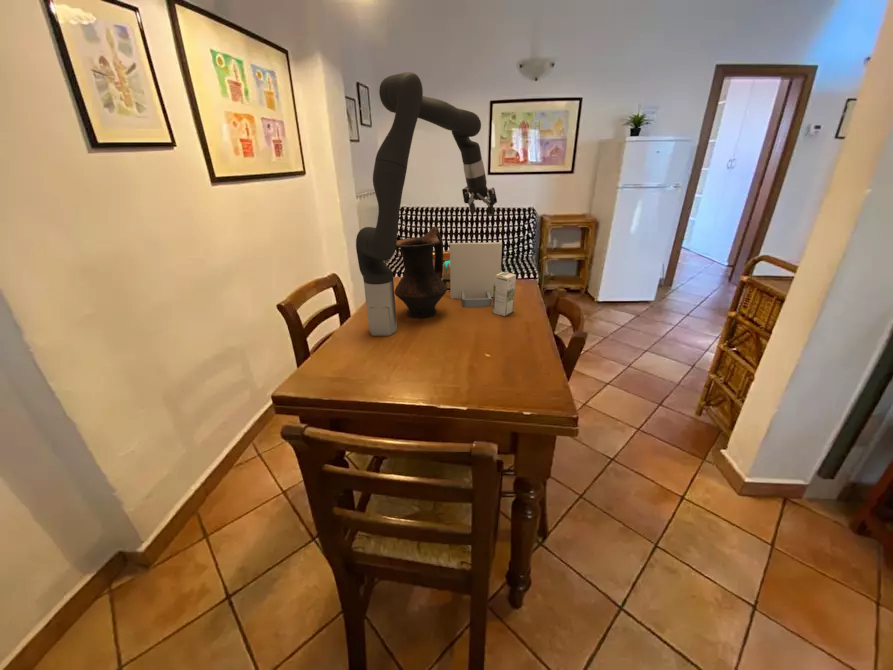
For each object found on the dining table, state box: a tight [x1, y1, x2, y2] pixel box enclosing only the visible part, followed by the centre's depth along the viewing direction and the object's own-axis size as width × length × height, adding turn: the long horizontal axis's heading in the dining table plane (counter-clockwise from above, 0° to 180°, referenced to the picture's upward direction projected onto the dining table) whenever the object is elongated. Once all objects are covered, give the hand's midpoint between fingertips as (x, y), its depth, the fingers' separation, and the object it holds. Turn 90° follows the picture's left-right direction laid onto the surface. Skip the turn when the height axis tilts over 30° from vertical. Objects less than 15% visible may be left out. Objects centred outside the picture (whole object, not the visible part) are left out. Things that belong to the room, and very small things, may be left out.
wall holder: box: [449, 241, 503, 308], centre depth 143 cm, size 12×20×22 cm, turn 90°
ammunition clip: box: [442, 262, 450, 290], centre depth 159 cm, size 11×2×12 cm, turn 81°
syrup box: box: [491, 271, 517, 317], centre depth 134 cm, size 6×6×14 cm
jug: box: [394, 226, 448, 320], centre depth 130 cm, size 21×18×30 cm
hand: (482, 213), depth 150 cm, fingers open, 8 cm apart
